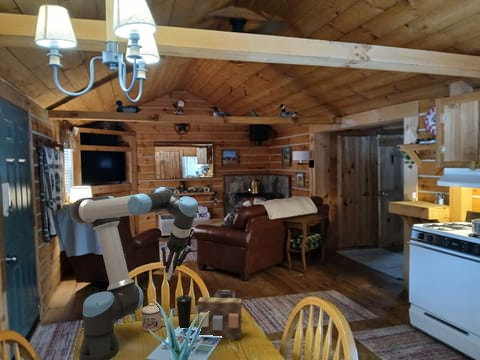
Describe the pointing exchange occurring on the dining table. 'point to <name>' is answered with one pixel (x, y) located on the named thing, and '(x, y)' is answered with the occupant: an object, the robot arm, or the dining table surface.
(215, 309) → the button console
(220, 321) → the slate button
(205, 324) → the ivory button
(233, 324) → the terracotta button
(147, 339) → the dining table surface
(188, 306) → the drinking cup
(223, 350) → the dining table surface
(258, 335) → the dining table surface
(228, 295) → the coffee box
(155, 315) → the teacup with lid
